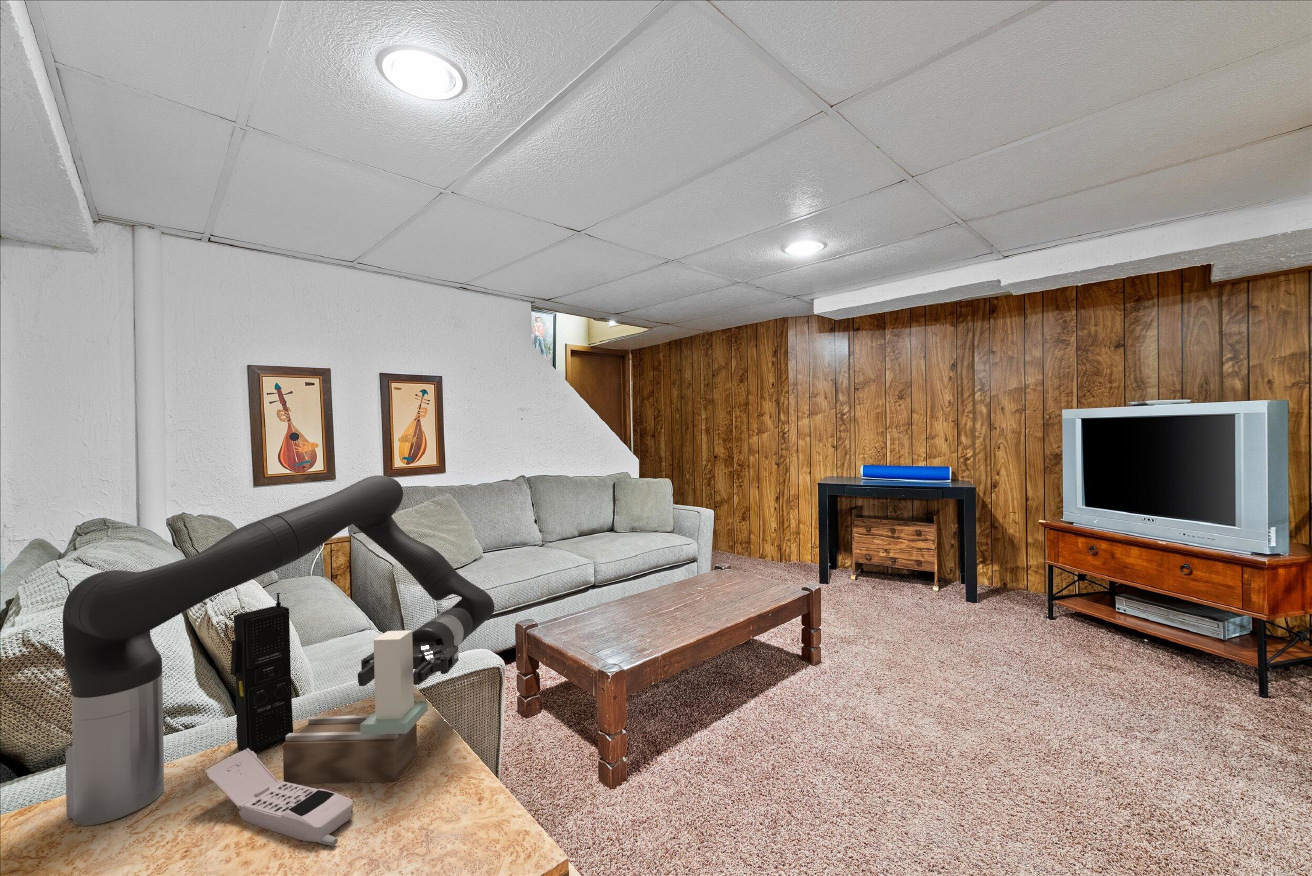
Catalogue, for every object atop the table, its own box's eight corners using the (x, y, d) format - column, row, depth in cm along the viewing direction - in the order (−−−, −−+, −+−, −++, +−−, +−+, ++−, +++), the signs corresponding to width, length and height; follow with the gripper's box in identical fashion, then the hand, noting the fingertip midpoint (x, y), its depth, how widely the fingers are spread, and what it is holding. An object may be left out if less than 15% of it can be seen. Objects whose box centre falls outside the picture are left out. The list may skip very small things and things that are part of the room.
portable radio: (241, 761, 86) (238, 606, 87) (227, 751, 89) (224, 602, 90) (295, 738, 93) (292, 594, 93) (280, 729, 96) (277, 590, 96)
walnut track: (283, 783, 80) (282, 737, 80) (315, 756, 87) (314, 714, 87) (394, 781, 79) (393, 735, 79) (417, 754, 86) (416, 712, 86)
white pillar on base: (360, 734, 79) (358, 643, 80) (385, 711, 86) (383, 627, 87) (406, 733, 79) (404, 642, 80) (427, 710, 86) (425, 626, 87)
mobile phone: (246, 746, 80) (367, 776, 71) (248, 785, 80) (369, 821, 71) (200, 770, 74) (324, 806, 65) (202, 812, 74) (326, 854, 65)
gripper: (396, 621, 98) (342, 655, 81) (473, 619, 97) (433, 653, 81) (397, 662, 97) (343, 705, 81) (474, 660, 97) (434, 703, 81)
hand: (388, 679), depth 81 cm, fingers open, 8 cm apart
